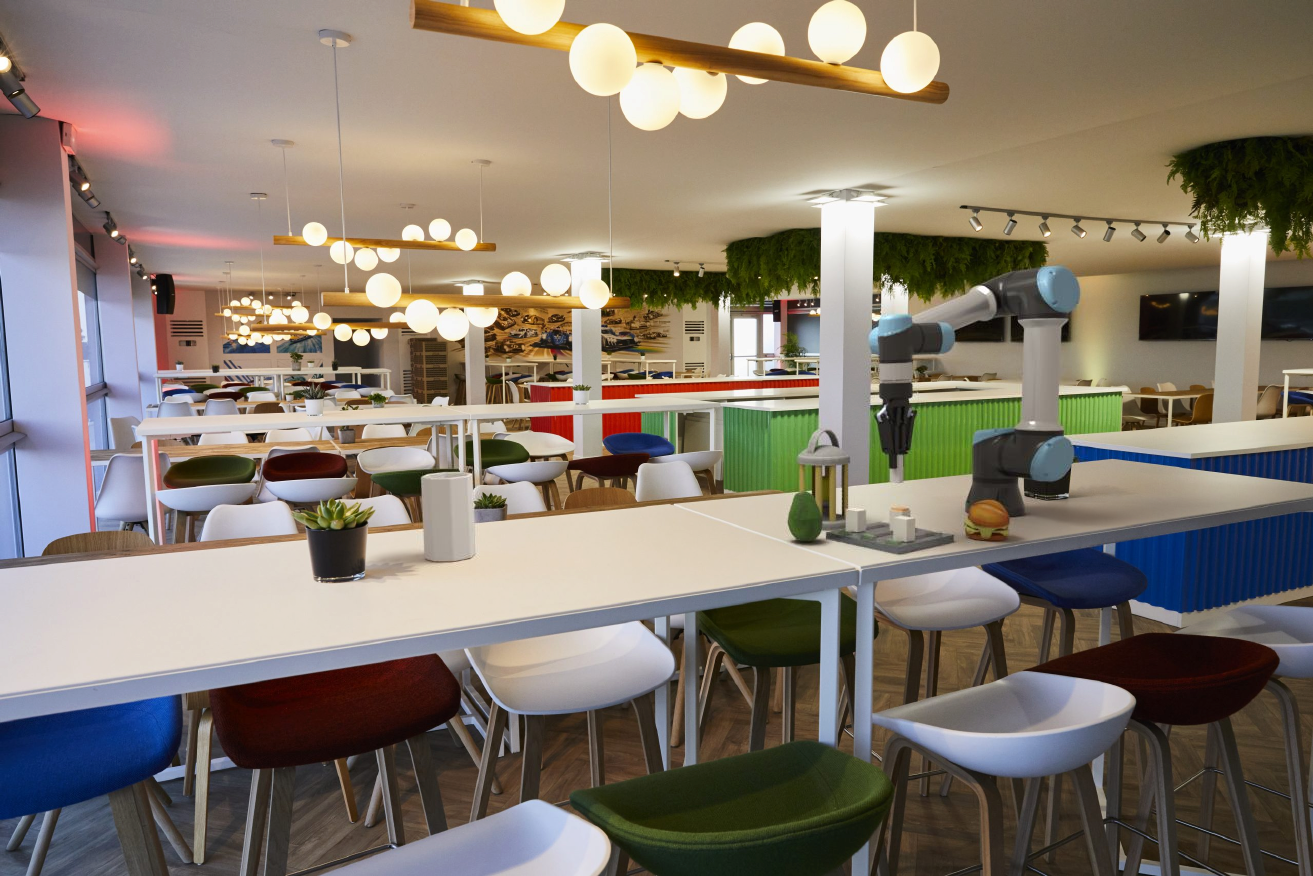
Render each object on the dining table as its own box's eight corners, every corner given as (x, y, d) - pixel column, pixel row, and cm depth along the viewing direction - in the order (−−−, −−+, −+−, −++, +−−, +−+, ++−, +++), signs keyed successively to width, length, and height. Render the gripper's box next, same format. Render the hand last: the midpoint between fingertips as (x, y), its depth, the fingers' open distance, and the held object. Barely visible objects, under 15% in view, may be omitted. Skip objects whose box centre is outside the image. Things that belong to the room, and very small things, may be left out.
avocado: (795, 537, 199) (795, 487, 198) (826, 540, 195) (826, 489, 194) (782, 543, 192) (782, 492, 191) (815, 546, 188) (814, 494, 187)
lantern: (827, 533, 203) (827, 431, 200) (784, 525, 214) (783, 429, 211) (863, 525, 212) (863, 428, 209) (819, 517, 222) (819, 425, 220)
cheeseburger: (1001, 532, 199) (1005, 494, 196) (1015, 552, 189) (1020, 512, 186) (958, 531, 200) (962, 493, 197) (969, 551, 190) (974, 512, 187)
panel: (881, 527, 207) (881, 519, 207) (953, 541, 190) (954, 532, 190) (825, 538, 196) (825, 529, 196) (898, 554, 179) (898, 544, 179)
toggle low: (854, 528, 199) (854, 507, 198) (865, 530, 196) (866, 509, 196) (845, 529, 197) (845, 509, 197) (857, 532, 194) (857, 511, 194)
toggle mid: (897, 528, 198) (898, 506, 197) (910, 530, 195) (910, 508, 194) (889, 530, 196) (889, 507, 195) (902, 532, 193) (902, 509, 192)
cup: (422, 554, 188) (418, 473, 186) (472, 549, 192) (468, 470, 190) (427, 564, 178) (423, 479, 176) (479, 559, 182) (476, 476, 180)
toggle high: (901, 537, 188) (901, 515, 187) (914, 540, 185) (915, 518, 184) (893, 539, 186) (893, 517, 185) (906, 542, 183) (906, 519, 182)
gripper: (900, 380, 198) (901, 477, 200) (864, 382, 190) (865, 483, 192) (926, 380, 192) (927, 480, 194) (890, 383, 184) (891, 487, 186)
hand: (896, 482), depth 193 cm, fingers closed
